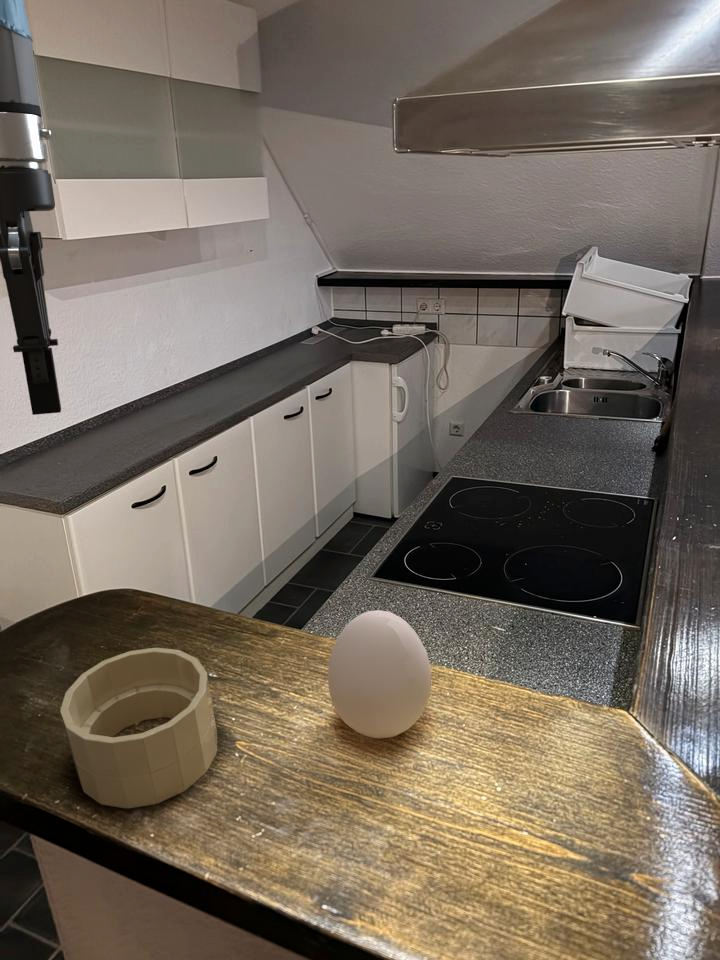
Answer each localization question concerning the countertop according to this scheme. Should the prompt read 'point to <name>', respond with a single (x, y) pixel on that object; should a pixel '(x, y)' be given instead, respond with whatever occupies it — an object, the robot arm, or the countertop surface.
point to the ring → (128, 700)
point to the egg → (379, 675)
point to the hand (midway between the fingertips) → (47, 411)
